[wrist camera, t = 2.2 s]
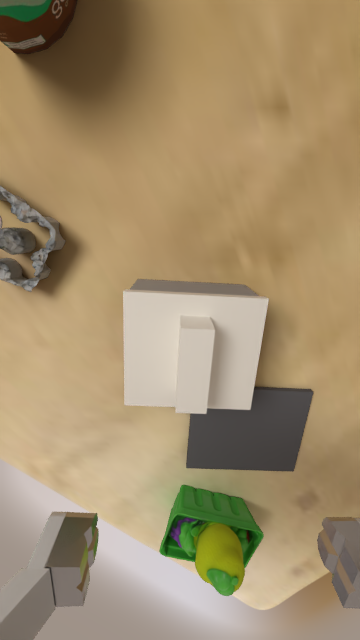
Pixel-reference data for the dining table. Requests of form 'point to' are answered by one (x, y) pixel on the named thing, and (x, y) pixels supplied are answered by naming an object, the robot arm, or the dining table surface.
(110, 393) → the dining table surface
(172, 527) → the fruit basket
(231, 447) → the mat
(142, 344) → the lid
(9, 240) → the egg carton
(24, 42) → the food container
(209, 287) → the crate
